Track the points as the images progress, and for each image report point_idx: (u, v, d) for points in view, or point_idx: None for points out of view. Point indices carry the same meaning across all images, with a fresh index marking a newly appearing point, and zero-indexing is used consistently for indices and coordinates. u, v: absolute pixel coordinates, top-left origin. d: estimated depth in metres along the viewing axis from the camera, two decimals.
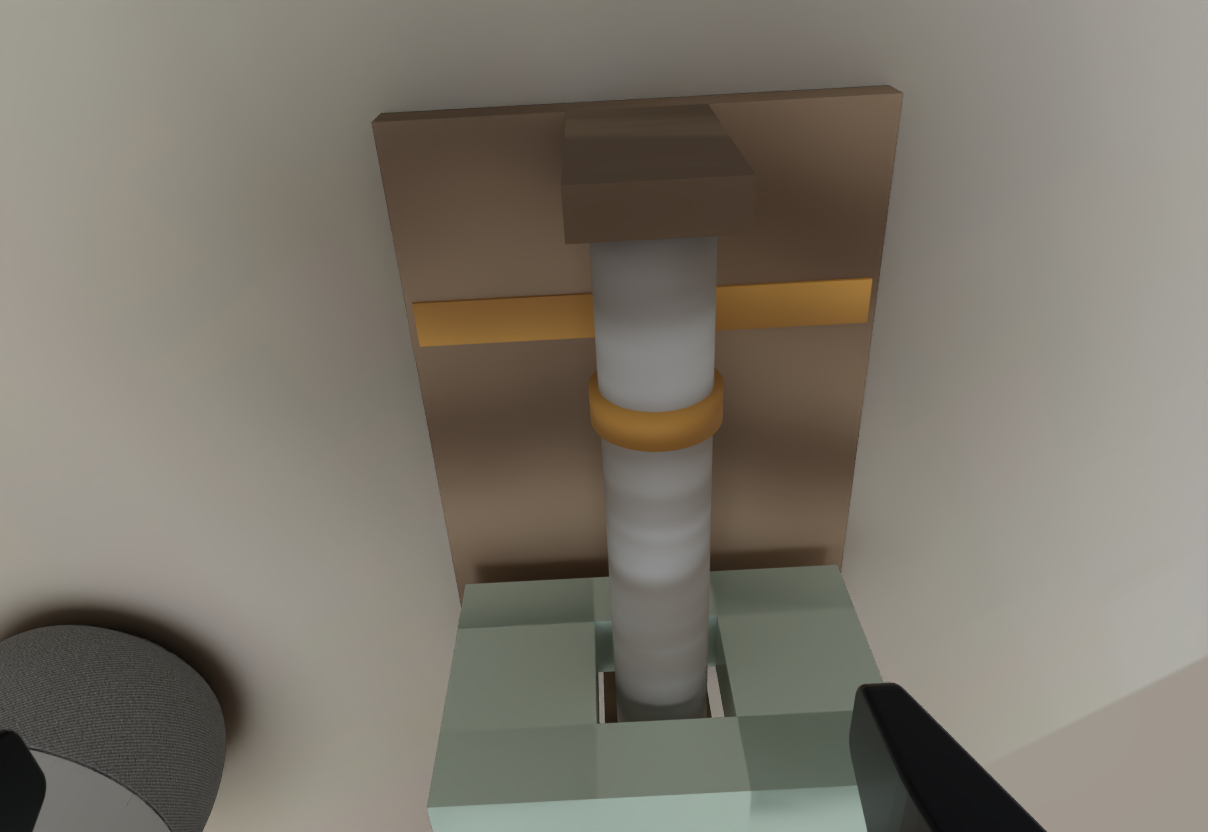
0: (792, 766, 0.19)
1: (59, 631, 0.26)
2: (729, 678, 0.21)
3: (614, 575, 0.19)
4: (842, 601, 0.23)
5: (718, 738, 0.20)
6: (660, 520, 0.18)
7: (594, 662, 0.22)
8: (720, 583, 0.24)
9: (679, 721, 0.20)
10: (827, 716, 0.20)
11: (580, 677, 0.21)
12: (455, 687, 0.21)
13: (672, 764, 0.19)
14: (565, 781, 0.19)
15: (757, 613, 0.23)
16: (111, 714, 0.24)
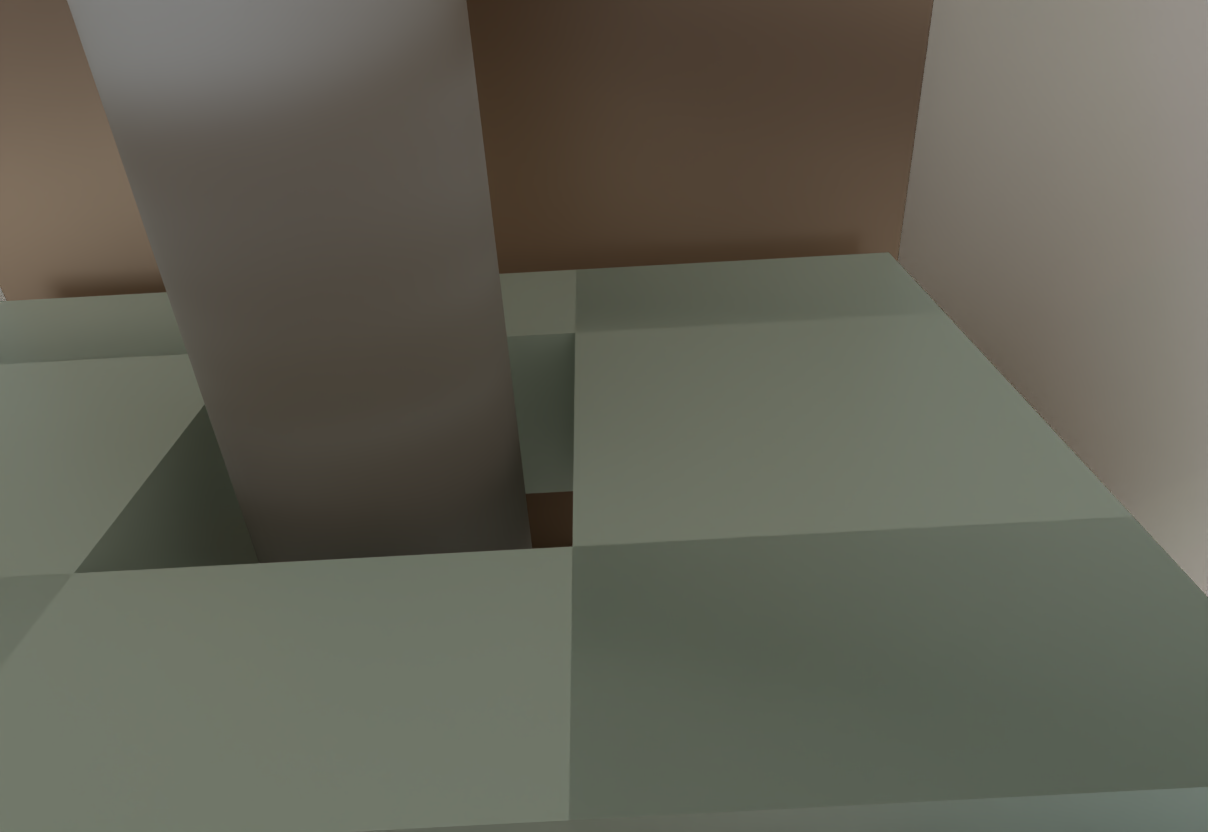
0: (763, 709, 0.04)
1: None
2: (575, 453, 0.07)
3: (118, 146, 0.05)
4: (911, 303, 0.09)
5: (486, 613, 0.05)
6: None
7: (188, 426, 0.07)
8: (599, 284, 0.10)
9: (366, 562, 0.06)
10: (897, 542, 0.06)
11: (118, 456, 0.07)
12: None
13: (265, 707, 0.05)
14: None
15: (684, 326, 0.09)
16: None
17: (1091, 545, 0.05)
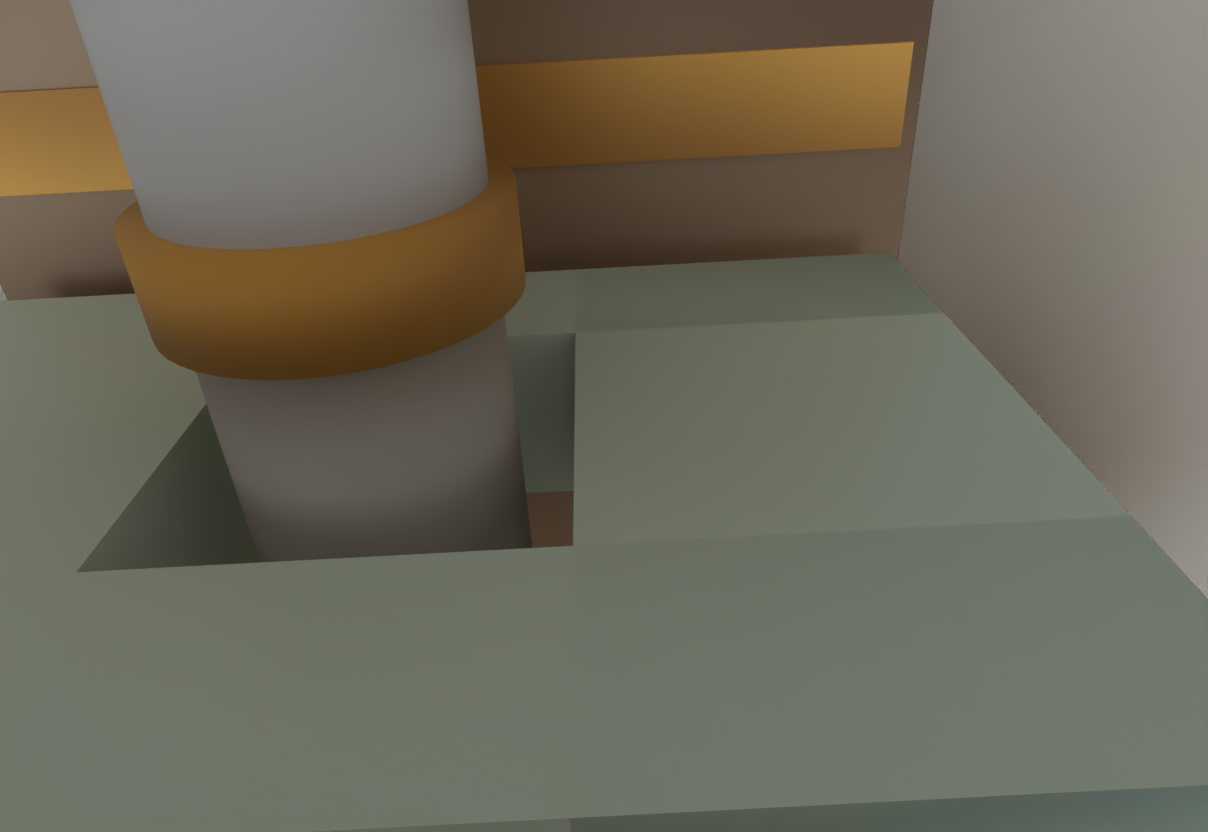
0: (763, 707, 0.04)
1: None
2: (575, 453, 0.07)
3: None
4: (910, 303, 0.09)
5: (487, 612, 0.05)
6: None
7: (190, 426, 0.07)
8: (599, 284, 0.10)
9: (367, 560, 0.06)
10: (896, 541, 0.06)
11: (120, 455, 0.07)
12: None
13: (268, 706, 0.05)
14: None
15: (684, 325, 0.09)
16: None
17: (1090, 544, 0.05)
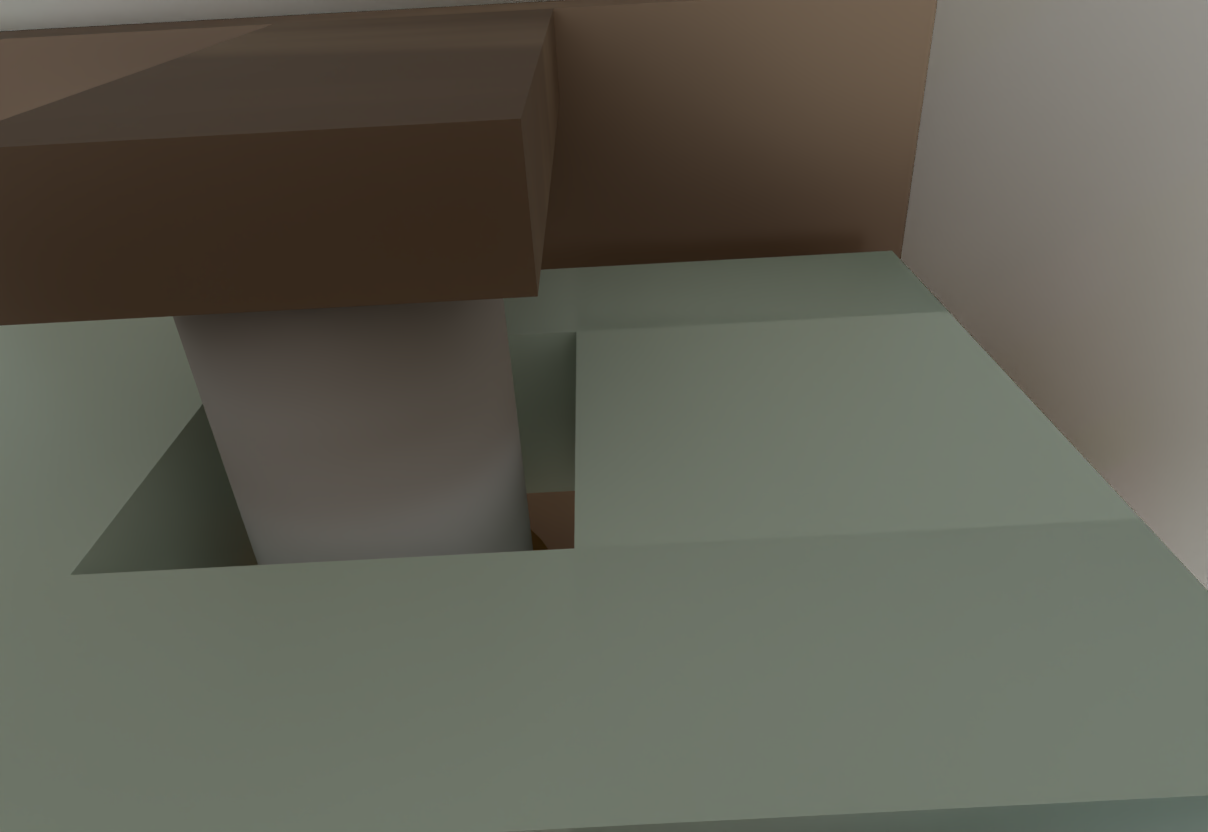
0: (767, 714, 0.04)
1: None
2: (576, 453, 0.07)
3: None
4: (914, 302, 0.09)
5: (487, 616, 0.05)
6: None
7: (186, 426, 0.07)
8: (600, 283, 0.10)
9: (365, 566, 0.06)
10: (902, 544, 0.05)
11: (115, 455, 0.07)
12: None
13: (264, 711, 0.05)
14: None
15: (686, 325, 0.09)
16: None
17: (1100, 546, 0.05)
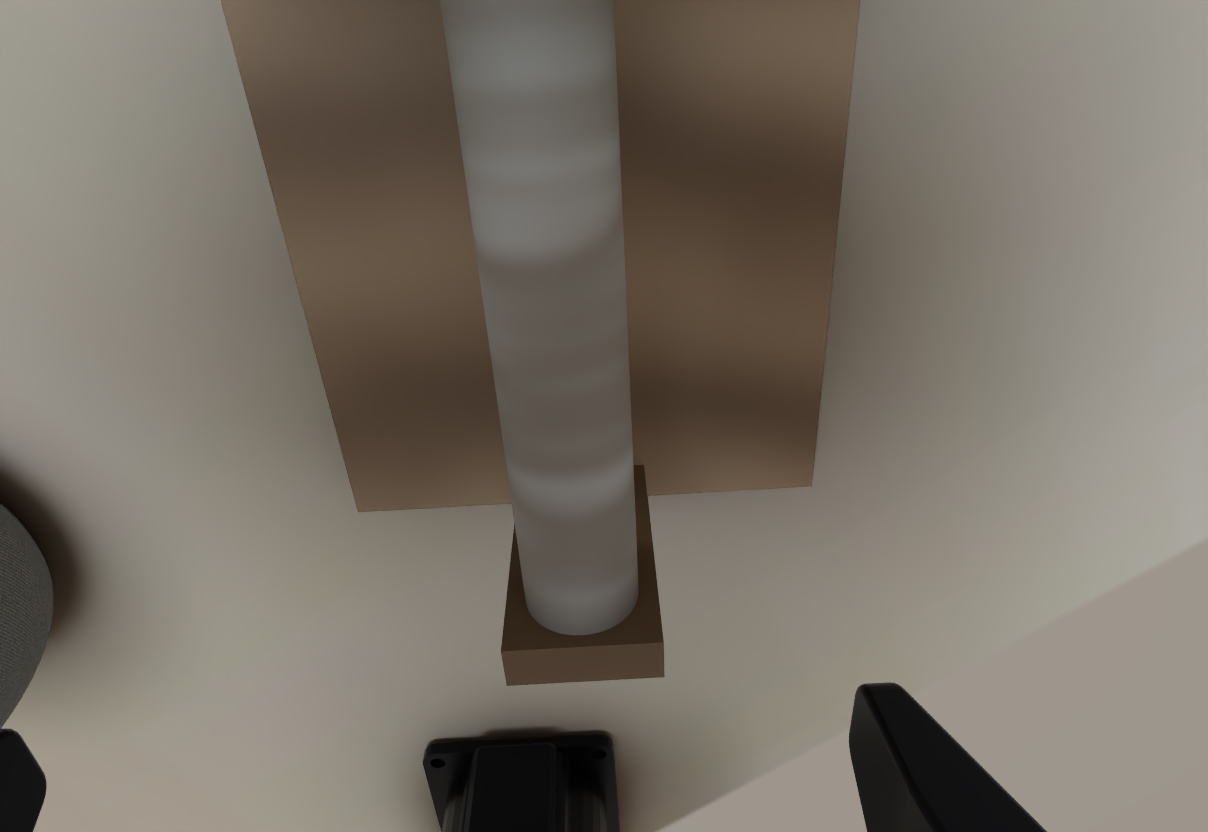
0: None
1: None
2: None
3: (480, 264, 0.13)
4: None
5: None
6: (532, 136, 0.11)
7: None
8: None
9: None
10: None
11: None
12: None
13: None
14: None
15: None
16: None
17: None
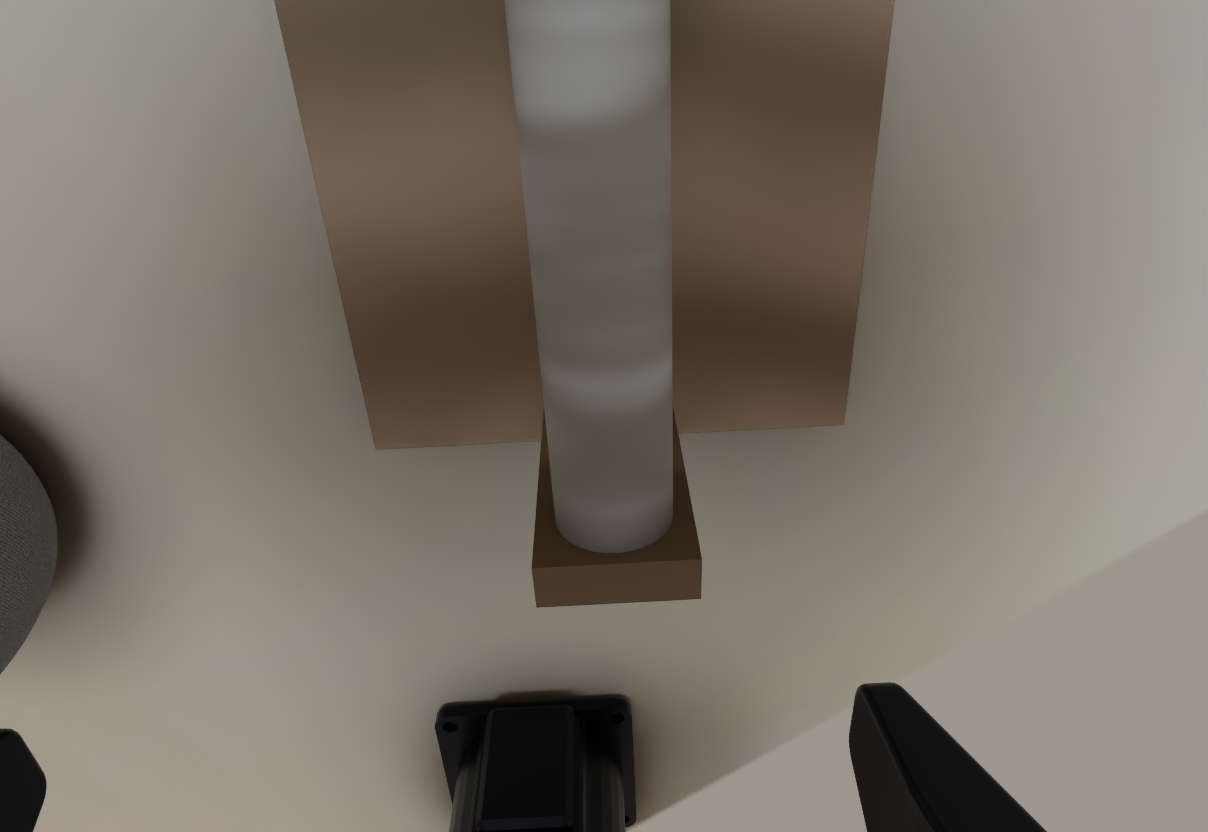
0: None
1: None
2: None
3: (523, 136, 0.13)
4: None
5: None
6: None
7: None
8: None
9: None
10: None
11: None
12: None
13: None
14: None
15: None
16: None
17: None
